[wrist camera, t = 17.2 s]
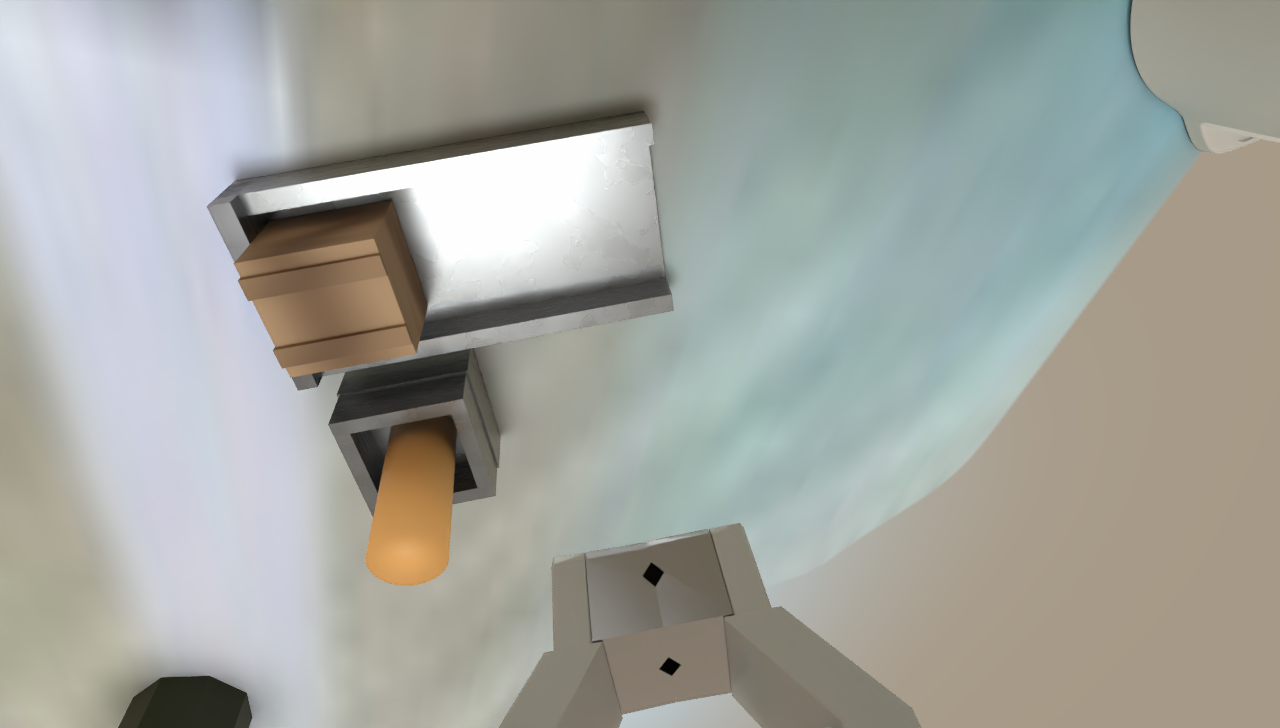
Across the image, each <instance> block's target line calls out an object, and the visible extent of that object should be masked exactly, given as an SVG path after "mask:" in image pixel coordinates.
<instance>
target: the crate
mask: <svg viewBox="0 0 1280 728" xmlns="http://www.w3.org/2000/svg"><path fill="white" fill-rule="evenodd" d="M234 265H235V267H236V269H237V271H238V273H239V275H240V277H241V278H240V279H239V280H238V282H239V284H240V286H241V288H242V290H243V292H244V294H245V296H246V298H247V300H248V301H251V300H252V301H253V303H254V305H255V307H256V309H257V311H258V313H259V315H260V317H261V319H262V321H263V323H264V325H265V327H266V329H267V331H268V333H269V335H270V337H271V339H272V341H273V343H274V345H275V348H274V350H273V352H274V354H275V355H276V357H277V359H278V361H279V363H280V365H281V367H282V368H286V369H287V371H288V373H289V375H290V377H297V376H302V375H307V374H313V373H318V372H323V371H329V370H334V369H339V368H345V367H350V366H356V365H361V364H366V363H372V362H377V361H382V360H388V359H393V358H398V357H404V356H409V355H415V354H417V349H418V345H419V341H420V337H421V333H422V329H423V325H424V321H425V317H426V312H427V308H428V304H427V301H426V298H425V296H424V293H423V290H422V287H421V284H420V281H419V278H418V275H417V272H416V269H415V266H414V263H413V260H412V257H411V255H410V252H409V249H408V246H407V243H406V240H405V237H404V234H403V231H402V228H401V225H400V222H399V219H398V216H397V214H396V211H395V208H394V205H393V202H392V200H389V201H383V202H377V203H371V204H366V205H360V206H354V207H349V208H343V209H337V210H332V211H326V212H320V213H314V214H309V215H303V216H297V217H292V218H286V219H280V220H274V221H269V222H268V224H267V225H266V226H265V227H264V228H263V229H262V231H261V232H260V233H259V234H258V235H257V237H256V238H255V239H254V240H253V241H252V242H251V244H250V245H249V246H248V247H247V248H246V250H245V251H244V252H243V253H242V254H241V256H240V257H239V258H238V259H237V260H236V261H235V263H234Z"/></svg>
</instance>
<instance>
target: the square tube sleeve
mask: <svg viewBox="0 0 1280 728" xmlns="http://www.w3.org/2000/svg"><path fill="white" fill-rule="evenodd" d="M337 397H338V401H337V403H336V406H335V409H334V411H333V414H332V416H331V419H330V422H329V424H328V425H329V427H330V429H331V431H332V433H333V435H334V437H335V439H336V441H337V443H338V446H339V448H340V450H341V452H342V454H343V456H344V458H345V460H346V462H347V464H348V466H349V468H350V470H351V472H352V474H353V477H354V479H355V481H356V483H357V485H358V487H359V489H360V491H361V493H362V495H363V497H364V499H365V501H366V503H367V505H368V508H369V510H370V512H371V514H372V516H373V517H374V512H375V506H376V501H377V496H378V491H379V486H380V481H381V476H382V470H383V465H384V460H385V455H386V450H387V445H388V439H389V434H390V429H391V426H393V425H399V424H404V423H409V422H414V421H420V420H425V419H430V418H435V417H441V416H446V415H447V416H448V417H449V418H450V419H451V420H452V421H453V423H454V424H455V426H456V429H457V443H456V458H455V472H454V487H453V502H452V504H456V503H462V502H467V501H472V500H477V499H482V498H487V497H492V496H496V477H497V468H499V457H500V433H499V430H498V427H497V424H496V421H495V417H494V414H493V411H492V408H491V405H490V401H489V398H488V395H487V392H486V389H485V385H484V382H483V379H482V376H481V373H480V369H479V366H478V363H477V360H476V357H475V353H474V350H473V348H471V349H466V350H460V351H455V352H450V353H444V354H439V355H434V356H428V357H423V358H417V359H412V360H407V361H401V362H396V363H391V364H385V365H380V366H375V367H369V368H364V369H359V370H353V371H348V372H346V373H345V375H344V378H343V380H342V383H341V385H340V388H339V390H338V393H337Z"/></svg>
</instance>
